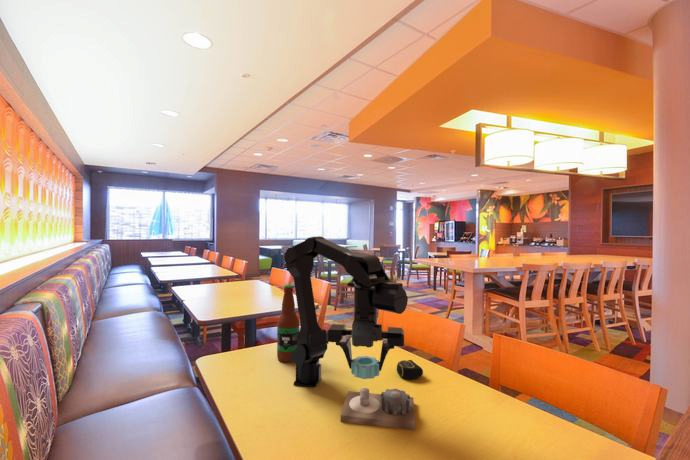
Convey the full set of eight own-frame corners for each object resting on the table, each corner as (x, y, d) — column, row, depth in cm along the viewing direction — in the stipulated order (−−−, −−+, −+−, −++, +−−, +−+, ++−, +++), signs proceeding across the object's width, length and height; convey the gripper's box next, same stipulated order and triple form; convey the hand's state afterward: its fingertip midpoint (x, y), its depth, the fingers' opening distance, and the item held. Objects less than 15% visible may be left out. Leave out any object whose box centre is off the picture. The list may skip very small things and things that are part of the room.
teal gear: (349, 378, 77) (349, 366, 77) (353, 366, 83) (353, 354, 83) (378, 381, 75) (378, 368, 75) (380, 368, 82) (380, 356, 82)
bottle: (273, 361, 107) (273, 286, 106) (282, 353, 114) (282, 282, 113) (294, 364, 105) (294, 288, 105) (301, 355, 112) (302, 284, 112)
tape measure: (423, 379, 96) (424, 367, 96) (403, 382, 94) (403, 370, 94) (412, 369, 102) (412, 358, 102) (392, 372, 100) (393, 360, 100)
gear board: (340, 421, 75) (340, 400, 75) (348, 396, 86) (348, 377, 85) (415, 430, 72) (415, 408, 72) (413, 403, 83) (413, 383, 83)
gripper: (321, 313, 73) (321, 381, 73) (404, 317, 70) (404, 388, 70) (331, 301, 84) (330, 361, 84) (403, 304, 81) (403, 366, 81)
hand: (365, 369), depth 79 cm, fingers closed on teal gear, 7 cm apart
